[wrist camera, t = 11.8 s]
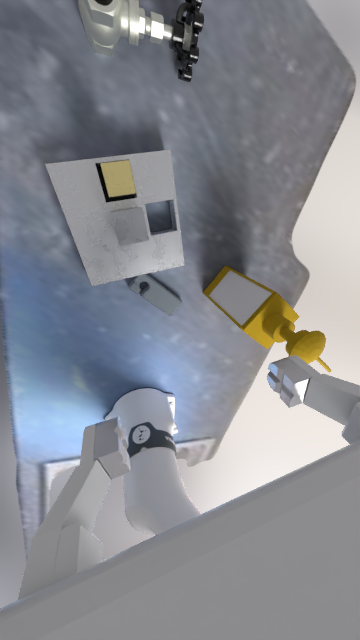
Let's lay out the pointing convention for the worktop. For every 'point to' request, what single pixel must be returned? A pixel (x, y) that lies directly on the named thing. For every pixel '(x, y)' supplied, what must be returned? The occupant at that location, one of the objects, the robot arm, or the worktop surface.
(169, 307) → the bracket
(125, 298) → the worktop surface
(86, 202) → the square plinth with cube
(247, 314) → the soap bottle
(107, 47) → the valve
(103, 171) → the yellow rectangular block
